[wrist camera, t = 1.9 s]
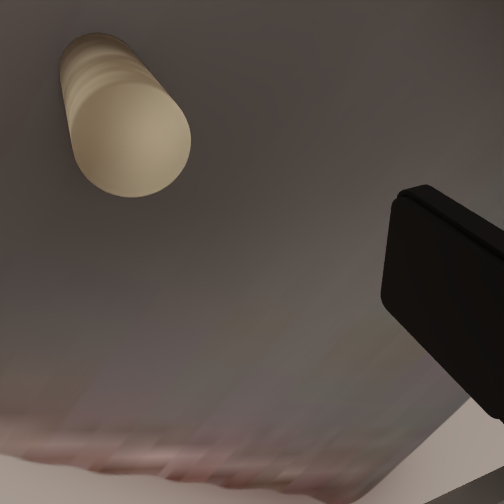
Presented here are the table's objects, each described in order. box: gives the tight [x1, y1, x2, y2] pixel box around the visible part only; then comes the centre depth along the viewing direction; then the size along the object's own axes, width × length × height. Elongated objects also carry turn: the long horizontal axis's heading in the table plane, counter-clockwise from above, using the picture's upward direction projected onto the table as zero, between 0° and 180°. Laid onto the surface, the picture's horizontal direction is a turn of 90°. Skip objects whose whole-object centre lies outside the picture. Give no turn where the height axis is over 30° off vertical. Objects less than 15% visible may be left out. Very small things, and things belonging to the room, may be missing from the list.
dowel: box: [59, 33, 191, 197], centre depth 20 cm, size 4×4×10 cm
